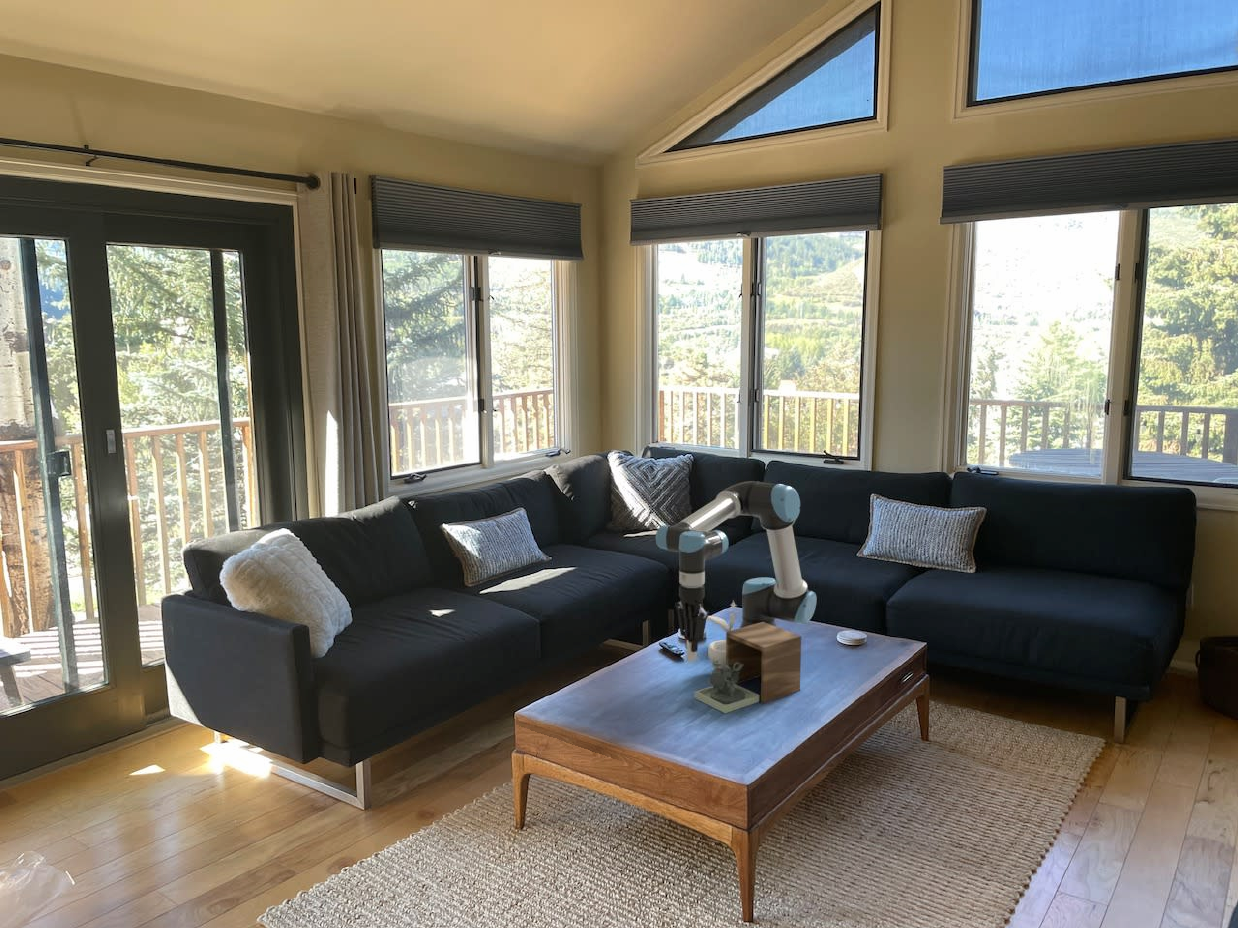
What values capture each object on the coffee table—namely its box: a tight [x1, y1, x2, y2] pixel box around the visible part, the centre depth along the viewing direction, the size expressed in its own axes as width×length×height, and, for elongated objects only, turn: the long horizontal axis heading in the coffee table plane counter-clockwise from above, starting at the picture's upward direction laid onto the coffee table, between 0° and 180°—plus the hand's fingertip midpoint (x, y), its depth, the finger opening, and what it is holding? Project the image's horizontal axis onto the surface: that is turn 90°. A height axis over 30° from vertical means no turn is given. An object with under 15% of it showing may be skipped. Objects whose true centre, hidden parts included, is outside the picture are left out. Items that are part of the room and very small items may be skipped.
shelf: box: [725, 622, 802, 704], centre depth 303 cm, size 17×16×18 cm
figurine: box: [708, 660, 745, 704], centre depth 295 cm, size 11×11×12 cm
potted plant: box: [707, 599, 741, 670], centre depth 314 cm, size 13×12×25 cm
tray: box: [694, 684, 760, 714], centre depth 296 cm, size 14×14×2 cm
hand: (691, 660), depth 285 cm, fingers closed
